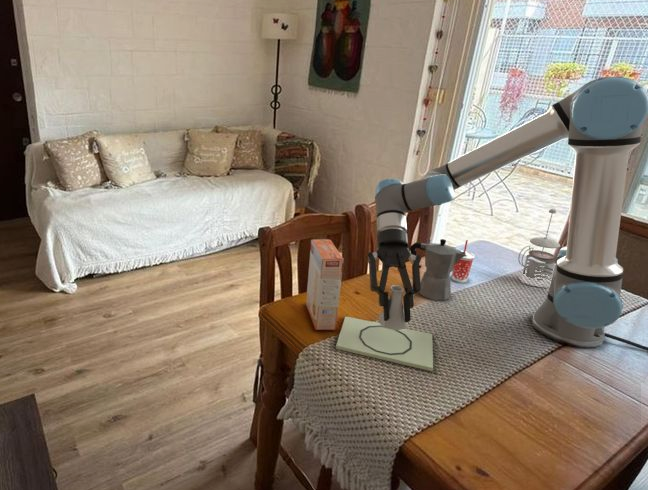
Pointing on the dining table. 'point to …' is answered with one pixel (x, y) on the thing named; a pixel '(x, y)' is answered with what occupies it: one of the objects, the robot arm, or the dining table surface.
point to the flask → (394, 310)
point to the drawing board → (386, 343)
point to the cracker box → (324, 284)
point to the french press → (540, 256)
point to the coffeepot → (437, 268)
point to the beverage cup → (463, 267)
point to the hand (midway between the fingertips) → (397, 320)
